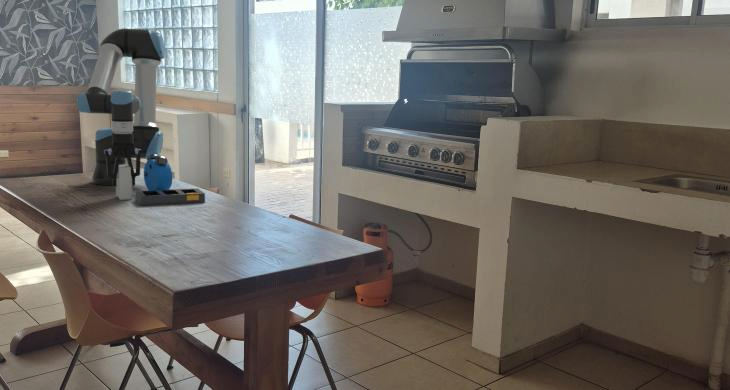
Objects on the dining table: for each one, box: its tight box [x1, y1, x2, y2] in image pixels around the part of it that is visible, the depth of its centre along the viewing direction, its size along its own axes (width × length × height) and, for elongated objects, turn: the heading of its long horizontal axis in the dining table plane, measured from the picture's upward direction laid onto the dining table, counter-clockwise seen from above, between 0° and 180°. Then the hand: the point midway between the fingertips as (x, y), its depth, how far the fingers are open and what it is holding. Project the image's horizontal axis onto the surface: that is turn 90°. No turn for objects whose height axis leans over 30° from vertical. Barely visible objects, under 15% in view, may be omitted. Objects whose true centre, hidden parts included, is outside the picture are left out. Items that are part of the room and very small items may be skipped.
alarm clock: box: [143, 154, 173, 191], centre depth 263 cm, size 13×6×15 cm, turn 44°
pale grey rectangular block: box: [117, 164, 132, 201], centre depth 249 cm, size 7×4×12 cm, turn 28°
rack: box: [135, 188, 206, 207], centre depth 247 cm, size 11×23×4 cm, turn 118°
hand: (124, 194), depth 250 cm, fingers closed on pale grey rectangular block, 4 cm apart
